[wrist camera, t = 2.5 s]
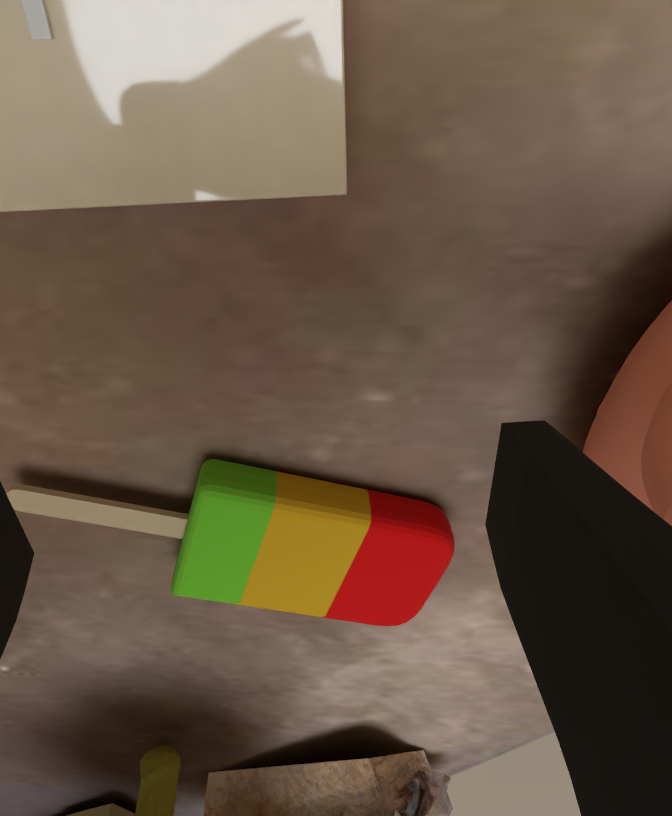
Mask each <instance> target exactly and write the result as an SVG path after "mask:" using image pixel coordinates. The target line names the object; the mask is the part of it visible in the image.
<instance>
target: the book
mask: <svg viewBox="0 0 672 816" xmlns="http://www.w3.org/2000/svg"><path fill="white" fill-rule="evenodd" d="M67 816H135V814H134V813H132V812H130V811H128V810H126V809H124V808H122V807H119V806H117V805H115V804H113V803H111V804H107V805H103V806H100V807H96V808H92V809H88V810H84V811H81V812H77V813H74V814H70V815H67Z"/></svg>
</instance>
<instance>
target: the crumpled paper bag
mask: <svg viewBox="0 0 672 816" xmlns="http://www.w3.org/2000/svg"><path fill="white" fill-rule="evenodd" d="M443 773H444V772H443ZM450 779H451V778H450V777H448V776H447V775H445V774H442V773H438V772H434V771H433V770H432V768H431V766H430V764H429V762H428V760H427V758H426V755H425V752H424V750H421V751H413V752H407V753H400V754H394V755H387V756H383V757H382V756H381V757H375V758H369V759H368V758H366V759H354V760H348V761H347V760H344V761H343V760H342V761H337V762H336V761H334V762H333V761H332V762H322V763H312V764H302V765H301V764H298V765H291V766H290V765H289V766H288V765H286V766H277V767H276V766H274V767H264V768H253V769H243V770H231V771H218V772H211V773H210V772H209V775H208V782H207V788H206V799H205V801H206V803H205V811H204V816H449V815H450V814H451V811H452V809H453V808H452V805H451V802H450V799H449V797H448V794H447V787H448V784H449V782H450Z"/></svg>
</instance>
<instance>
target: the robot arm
mask: <svg viewBox="0 0 672 816" xmlns="http://www.w3.org/2000/svg"><path fill="white" fill-rule="evenodd" d="M486 529H487V533H488V538H489V542H490V546H491V550H492V555H493V559H494V563H495V567H496V571H497V575H498V579H499V583H500V587H501V590H502V592H503V595H504V598H505V601H506V604H507V606H508V609H509V612H510V614H511V617H512V620H513V622H514V625H515V628H516V630H517V633H518V636H519V638H520V641H521V644H522V646H523V649H524V652H525V654H526V657H527V659H528V662H529V665H530V667H531V670H532V673H533V675H534V678H535V680H536V683H537V686H538V688H539V691H540V694H541V696H542V699H543V701H544V704H545V707H546V709H547V712H548V715H549V717H550V720H551V723H552V725H553V728H554V730H555V733H556V736H557V738H558V741H559V744H560V747H561V750H562V753H563V756H564V759H565V762H566V765H567V768H568V771H569V774H570V777H571V780H572V784H573V787H574V791H575V795H576V798H577V801H578V805H579V809H580V813H581V816H672V526H671V525H670V524H669V523H667V522H666V521H665V520H664V519H662V518H661V517H660V516H659V515H657V514H656V513H655V512H654V511H652V510H651V509H650V508H649V507H647V506H646V505H645V504H644V503H642V502H641V501H640V500H639V499H638V498H636V497H635V496H634V495H633V494H631V493H630V492H629V491H628V490H627V489H625V488H624V487H623V486H622V485H621V484H619V483H618V482H617V481H616V480H615V479H613V478H612V477H611V476H610V475H609V474H608V473H606V472H605V471H604V470H603V469H602V468H600V467H599V466H598V465H597V464H596V463H595V462H593V461H592V460H591V459H590V458H589V457H588V456H586V455H585V454H584V453H583V452H582V451H580V450H579V449H578V448H577V447H576V446H575V445H573V444H572V443H571V442H570V441H569V440H568V439H566V438H565V437H564V436H563V435H562V434H560V433H559V432H558V431H557V430H556V429H554V428H553V427H552V426H551V425H549V424H548V423H547V422H546V421H527V422H510V423H502V425H501V431H500V437H499V444H498V450H497V456H496V462H495V469H494V475H493V481H492V487H491V494H490V500H489V506H488V512H487V518H486ZM33 556H34V552H33V550H32V547H31V545H30V543H29V541H28V539H27V537H26V535H25V533H24V530H23V528H22V526H21V524H20V522H19V520H18V518H17V516H16V514H15V511H14V509H13V507H12V505H11V503H10V501H9V499H8V497H7V494H6V492H5V490H4V488H3V486H2V484H1V482H0V658H1V656H2V654H3V651H4V649H5V646H6V644H7V642H8V639H9V637H10V634H11V632H12V629H13V627H14V624H15V622H16V619H17V616H18V612H19V609H20V605H21V602H22V598H23V595H24V592H25V588H26V584H27V580H28V576H29V572H30V568H31V564H32V560H33Z"/></svg>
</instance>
